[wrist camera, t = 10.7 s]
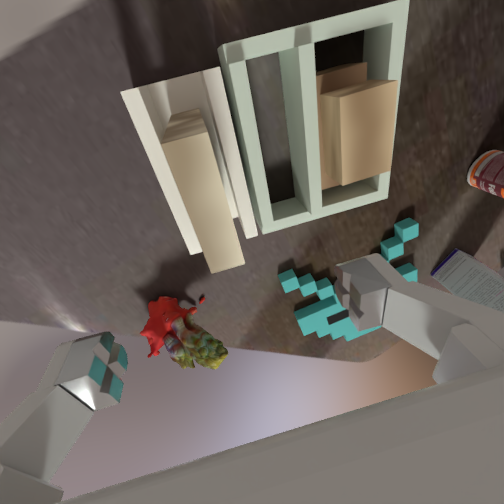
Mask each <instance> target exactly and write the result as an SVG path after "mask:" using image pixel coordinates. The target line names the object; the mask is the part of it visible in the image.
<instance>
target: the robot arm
mask: <svg viewBox="0 0 504 504" xmlns="http://www.w3.org/2000/svg"><path fill="white" fill-rule="evenodd" d="M334 274H335V275H336V277H337V280H336V281H335V292H336V295H337V298H338V300H339V302H340V304H341V305H342V307H343V308H345V309H347V310H349V318H350V319H351V321H352V322H353V324H354V326H355V327H356V329H357V330H358V332H359V331H363V330H366V329H370V328H374V327H377V326H381V325H383V326H382V327H384V328H386V329H387V330H389V331H391V332H392V333H394V334H396V335H397V336H399V337H401V338H402V339H404V340H406V341H407V342H409V343H411V344H412V345H414V346H416V347H418V348H419V349H421V350H422V351H424V352H426V353H427V354H429V355H431V356H432V357H434V358H436V359H437V360H438V363H437V365H436V367H435V370H434V372H433V376H432V377H433V379H434V380H435V381H436V382H437V385H434V386H431V387H427V388H424V389H421V390H418V391H414V392H411V393H408V394H405V395H402V396H398V397H395V398H392V399H389V400H385V401H382V402H379V403H376V404H373V405H369V406H366V407H363V408H360V409H357V410H354V411H350V412H347V413H344V414H341V415H337V416H334V417H331V418H328V419H324V420H321V421H318V422H315V423H312V424H309V425H305V426H302V427H299V428H295V429H293V430H289V431H286V432H283V433H279V434H276V435H273V436H270V437H267V438H264V439H260V440H257V441H254V442H250V443H247V444H244V445H241V446H238V447H235V448H231V449H228V450H225V451H222V452H218V453H215V454H212V455H209V456H206V457H202V458H199V459H196V460H193V461H189V462H186V463H183V464H180V465H177V466H173V467H170V468H167V469H164V470H160V471H158V472H154V473H151V474H148V475H144V476H141V477H138V478H135V479H132V480H128V481H126V482H122V483H119V484H116V485H112V486H109V487H106V488H103V489H100V490H96V491H93V492H90V493H87V494H84V495H80V496H77V497H74V498H71V499H68V500H64V501H61V499H62V496H63V492H64V491H63V490H62V488H61V487H59V486H56V485H54V484H51V483H49V482H50V480H51V479H52V477H53V476H54V474H55V473H56V471H57V470H58V468H59V466H60V465H61V464H62V462H63V460H64V459H65V457H66V456H67V454H68V453H69V451H70V450H71V448H72V447H73V445H74V444H75V442H76V440H77V439H78V437H79V436H80V434H81V433H82V431H83V430H84V428H85V427H86V425H87V423H88V422H89V420H90V419H91V417H92V416H93V414H94V411H97V410H100V409H103V408H106V407H109V406H112V405H115V404H118V403H120V398H121V393H122V388H123V382H122V380H121V379H120V378H121V377H122V375H123V374H124V373H125V372H126V369H127V364H128V361H127V354H126V352H125V350H124V348H123V346H122V345H120V344H117V343H114V336H113V335H112V334H111V333H110V332H102V333H98V334H94V335H91V336H87V337H83V338H79V339H76V340H73V341H69V342H65V343H62V344H61V345H59V346H58V347H57V349H56V351H55V353H54V355H53V357H52V359H51V361H50V363H49V365H48V368H47V369H46V372H45V374H44V376H43V378H42V380H41V382H40V384H39V386H38V388H37V390H36V392H33V393H31V394H30V395H29V396H28V397H27V398H26V399H25V400H24V401H23V402H22V403H21V404H20V405H19V406H18V407H17V408H16V409H15V410H14V411H13V412H12V413H11V414H10V415H9V416H8V417H7V418H6V419H5V420H4V421H3V422H2V423H1V424H0V504H504V313H502V312H501V311H498V310H495V309H493V308H490V307H487V306H484V305H481V304H478V303H475V302H472V301H469V300H467V299H464V298H461V297H458V296H455V295H452V294H449V293H446V292H443V291H441V290H438V289H435V288H432V287H429V286H426V285H423V284H420V283H417V282H415V281H411V282H408V281H407V280H406V279H405V278H404V277H403V276H402V275H401V274H400V273H399V272H398V271H396V270H395V269H394V268H393V267H392V266H391V265H390V264H389V263H388V262H387V261H386V260H385V259H384V258H383V257H382V256H381V255H380V254H378V253H374V254H371V255H368V256H364V257H362V258H358V259H354V260H351V261H348V262H344V263H341V264H338V265H335V268H334Z"/></svg>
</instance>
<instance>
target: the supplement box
mask: <svg viewBox="0 0 504 504" xmlns="http://www.w3.org/2000/svg"><path fill="white" fill-rule="evenodd" d="M431 275H432V276H433V277H434V278H435V279H436V280H437V281H438V282H440V283H441V284H442V285H443V286H444V287H446V288H447V289H448V290H449V291H450V292H451V293H453V294H454V295H455V296H458V297H461V298H464V299H467V300H469V301H472V302H475V303H478V304H481V305H484V306H487V307H490V308H493V309H495V310H498V311H501V312H502V313H504V277H502V276H501V275H499V274H498V273H497V272H495V271H494V270H492V269H491V268H489V267H488V266H486V265H485V264H483V263H482V262H480V261H479V260H477V259H476V258H474V257H473V256H471V255H469V254H467V253H465V252H463V251H461V250H459V249H457V248H455V249H454V250H453V251H452V252H451V253H450V254H449V255H448V256H447V257H446V258H445V259H444V261H442V262H441V264H440V265H438V266H437V268H436V269H435V270H434V271H433V272H432V273H431Z"/></svg>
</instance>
